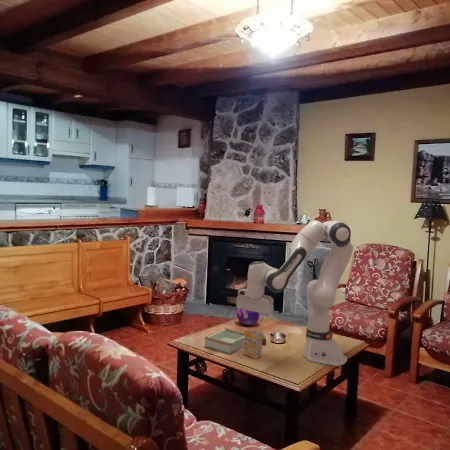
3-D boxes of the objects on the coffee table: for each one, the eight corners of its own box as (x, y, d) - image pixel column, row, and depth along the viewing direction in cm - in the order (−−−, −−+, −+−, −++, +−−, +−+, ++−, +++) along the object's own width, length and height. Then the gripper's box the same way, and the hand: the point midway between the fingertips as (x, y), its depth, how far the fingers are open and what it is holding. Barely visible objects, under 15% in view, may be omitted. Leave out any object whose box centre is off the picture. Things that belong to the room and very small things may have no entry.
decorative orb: (251, 330, 270) (252, 305, 269) (231, 324, 279) (232, 301, 278) (264, 324, 282) (265, 301, 281) (244, 319, 291) (245, 297, 290)
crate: (249, 344, 245) (250, 334, 245) (229, 354, 228) (230, 343, 228) (225, 337, 254) (225, 327, 254) (204, 347, 237) (204, 336, 237)
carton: (261, 336, 260) (262, 329, 260) (266, 346, 244) (266, 338, 244) (247, 336, 259) (248, 329, 259) (251, 346, 243) (251, 338, 243)
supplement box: (243, 355, 229) (244, 330, 228) (248, 352, 232) (249, 328, 231) (256, 359, 223) (257, 334, 222) (261, 357, 227) (262, 332, 226)
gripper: (276, 295, 222) (274, 322, 223) (241, 288, 233) (240, 314, 234) (270, 297, 217) (268, 325, 218) (235, 290, 228) (233, 316, 229)
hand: (253, 319), depth 226 cm, fingers open, 8 cm apart
